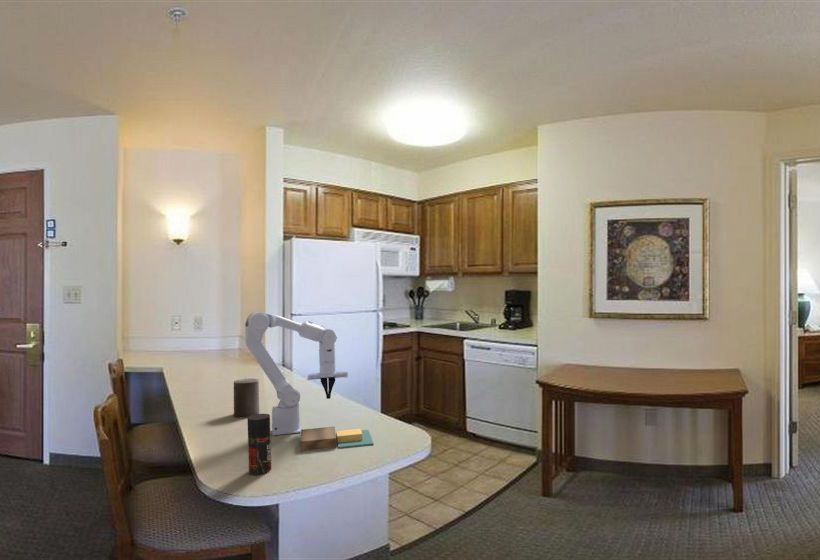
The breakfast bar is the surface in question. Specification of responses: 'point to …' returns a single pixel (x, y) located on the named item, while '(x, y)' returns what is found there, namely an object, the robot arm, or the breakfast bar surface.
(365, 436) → the mat
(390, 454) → the breakfast bar surface
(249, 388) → the pillar candle
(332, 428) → the brown flat block
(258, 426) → the deodorant
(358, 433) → the tile
